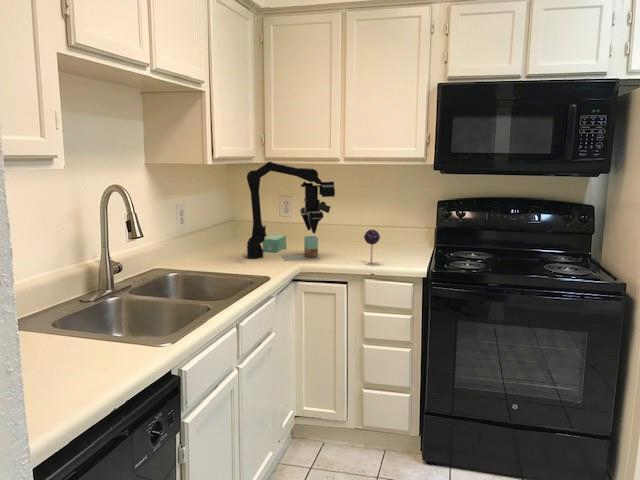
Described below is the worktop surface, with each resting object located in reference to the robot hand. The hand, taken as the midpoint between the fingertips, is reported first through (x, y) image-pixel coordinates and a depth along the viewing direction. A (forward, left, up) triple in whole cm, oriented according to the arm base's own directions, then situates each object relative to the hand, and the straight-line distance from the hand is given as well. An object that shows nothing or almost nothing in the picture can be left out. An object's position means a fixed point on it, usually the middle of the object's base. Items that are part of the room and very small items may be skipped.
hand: (311, 231), depth 239 cm
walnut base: (0, 0, -11) cm, 11 cm away
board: (-5, 0, -12) cm, 13 cm away
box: (-13, +21, -13) cm, 28 cm away
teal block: (0, 0, -7) cm, 7 cm away
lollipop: (+23, -16, -13) cm, 31 cm away
